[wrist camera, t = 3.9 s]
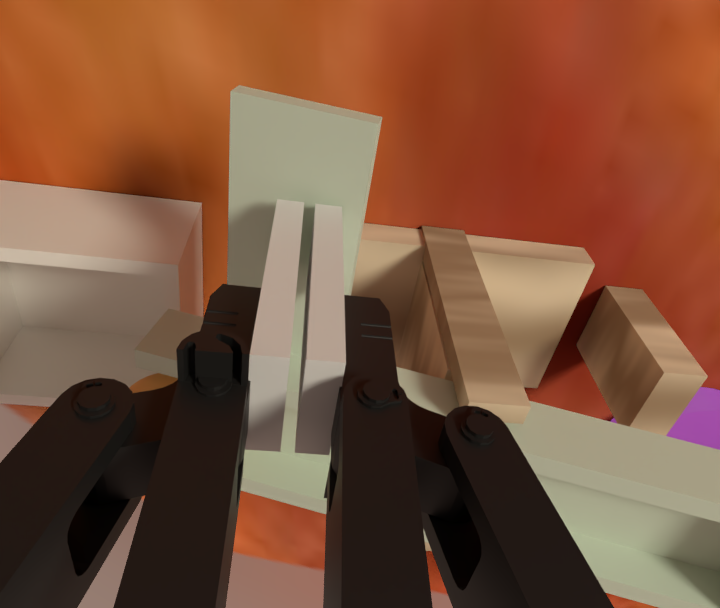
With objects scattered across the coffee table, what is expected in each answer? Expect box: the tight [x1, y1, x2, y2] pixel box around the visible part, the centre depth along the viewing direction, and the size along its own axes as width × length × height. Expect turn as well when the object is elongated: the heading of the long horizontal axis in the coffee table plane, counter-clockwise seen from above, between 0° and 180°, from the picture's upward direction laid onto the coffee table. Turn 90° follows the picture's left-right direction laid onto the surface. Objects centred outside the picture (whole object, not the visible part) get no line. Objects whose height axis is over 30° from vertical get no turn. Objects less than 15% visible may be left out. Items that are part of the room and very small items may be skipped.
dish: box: [0, 180, 203, 407], centre depth 25 cm, size 8×9×5 cm
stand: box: [351, 223, 708, 551], centre depth 25 cm, size 8×18×11 cm, turn 82°
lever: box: [134, 85, 720, 608], centre depth 18 cm, size 14×23×3 cm, turn 82°
